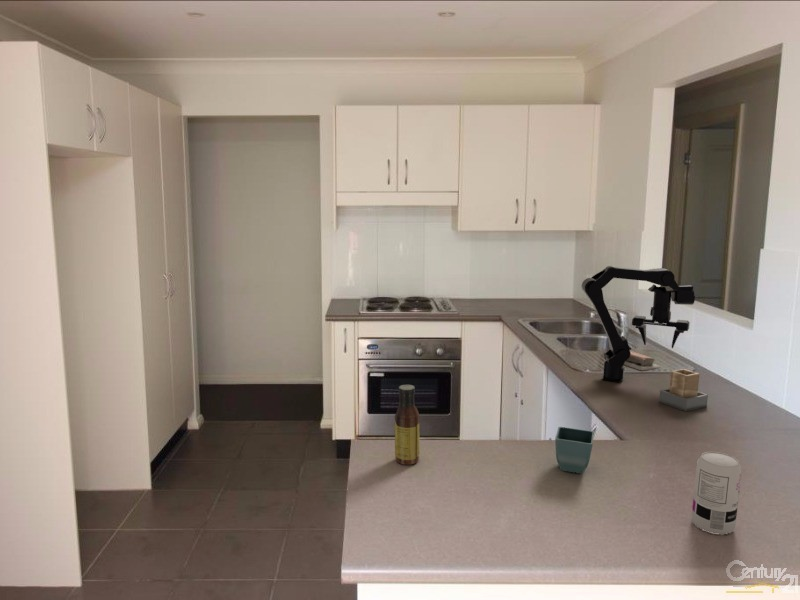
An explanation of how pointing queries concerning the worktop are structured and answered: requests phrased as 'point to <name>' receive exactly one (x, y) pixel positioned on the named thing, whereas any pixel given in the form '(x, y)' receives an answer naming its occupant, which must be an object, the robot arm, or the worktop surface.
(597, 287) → the robot arm
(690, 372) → the tall pine crate
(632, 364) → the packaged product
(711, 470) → the supplement can
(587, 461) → the flower pot
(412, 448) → the sauce bottle
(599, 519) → the worktop surface
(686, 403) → the grey square tray
